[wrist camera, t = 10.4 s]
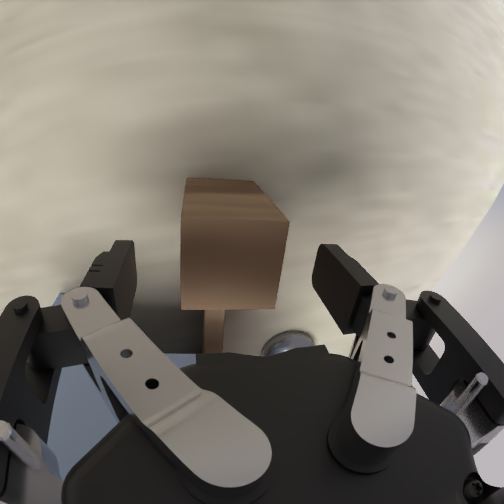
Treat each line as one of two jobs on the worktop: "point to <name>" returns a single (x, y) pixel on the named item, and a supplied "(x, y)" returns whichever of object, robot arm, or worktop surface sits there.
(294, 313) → the worktop surface
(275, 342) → the grey metal dome
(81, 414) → the cabinet
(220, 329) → the wooden mallet
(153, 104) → the worktop surface
